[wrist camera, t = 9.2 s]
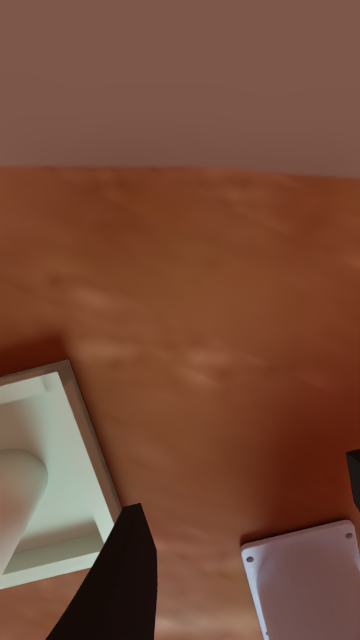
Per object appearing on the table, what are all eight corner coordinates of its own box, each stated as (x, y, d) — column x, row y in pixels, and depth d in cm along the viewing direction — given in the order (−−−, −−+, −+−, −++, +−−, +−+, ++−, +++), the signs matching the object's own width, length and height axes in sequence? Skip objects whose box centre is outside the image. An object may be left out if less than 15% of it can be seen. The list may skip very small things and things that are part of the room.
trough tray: (130, 531, 22) (126, 558, 20) (-22, 568, 23) (-40, 598, 21) (68, 359, 19) (57, 371, 18) (-104, 403, 20) (-134, 421, 18)
